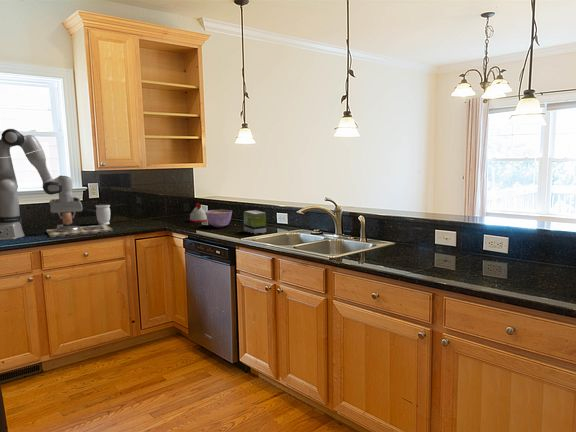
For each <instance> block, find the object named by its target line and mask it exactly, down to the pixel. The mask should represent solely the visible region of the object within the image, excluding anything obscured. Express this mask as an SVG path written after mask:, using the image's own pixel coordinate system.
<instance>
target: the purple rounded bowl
mask: <svg viewBox="0 0 576 432" xmlns="http://www.w3.org/2000/svg"><path fill="white" fill-rule="evenodd" d="M205 212H206V216H207V222H208V224H209V225H210V226H213V227H214V228H225V227H226V226H228V225H229V224H230V222H231V219H232V214H233V210H230V209H229V210H228V209H211V210H207V211H205Z"/></svg>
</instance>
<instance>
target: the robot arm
mask: <svg viewBox="0 0 576 432" xmlns="http://www.w3.org/2000/svg"><path fill="white" fill-rule="evenodd" d="M17 146H19V147H20V148H21V149H22V150H23V153H24V155H25V157H26V158H27V160H28V162H29V163H30V165H32V166H33V167H34V168H35V169H36V171H37V173H38V175H39V176H40V179H41V181H42V189H43V192H44V193H45V194H47V195H51V196H52V195H56V194H58V198H56V199H54V198H53V199H50V201H49V206H50V209H49V210H50V212H51V214H55V213H57V215H58V216H59V219H60V220H63V219H62V215H61V213H63V212H71V213H73V214H72V219H75V215H76V212H83V203H82V202H81V198H79V197H77V196H74V193H73V180H72V178H71V177H70V176H66V175H58V176H57V177H55V178H53V177H52V176H51V173H50V170H49V168H48V167H47V158H46V155H45V152H44V148H43V147H42V145H41V144H40V141H39V140H38V139H37V137H35V135H32V134H27V135H23V134H22V133H21V132H19V131H18V130H17V129H14V128H6V129H5V130H4V131H3V132H2V133H1V138H0V241H5V240H6V241H7V240H15V239H19V238H23V237H25V233H24V230H23V226H22V222H23V221H22V216H21V213H20V203H19V195H18V194H19V193H18V188H19V187H18V186H19V185H18V181H17V177H16V173H15V172H16V171H15V169H14V164H13V160H12V156H11V148H12V147H17Z"/></svg>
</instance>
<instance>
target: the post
mask: <svg viewBox="0 0 576 432" xmlns="http://www.w3.org/2000/svg"><path fill="white" fill-rule="evenodd" d="M80 227H81V226H79V225H65V226H64V224H63V223H60V224H56V229H57V232H74V231H79V230H80Z"/></svg>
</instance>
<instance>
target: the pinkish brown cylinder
mask: <svg viewBox="0 0 576 432" xmlns="http://www.w3.org/2000/svg"><path fill="white" fill-rule="evenodd" d="M72 215H73V214H72V212H61V216H62V219H61V220H62V224H63V225H66V226H71V224H72V225H73V218H72Z"/></svg>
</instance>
